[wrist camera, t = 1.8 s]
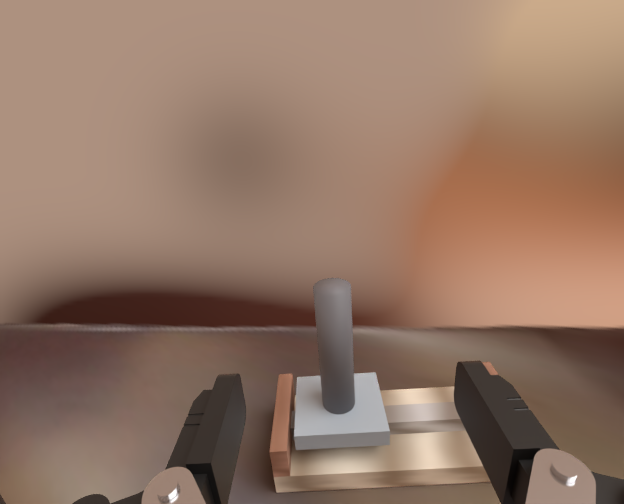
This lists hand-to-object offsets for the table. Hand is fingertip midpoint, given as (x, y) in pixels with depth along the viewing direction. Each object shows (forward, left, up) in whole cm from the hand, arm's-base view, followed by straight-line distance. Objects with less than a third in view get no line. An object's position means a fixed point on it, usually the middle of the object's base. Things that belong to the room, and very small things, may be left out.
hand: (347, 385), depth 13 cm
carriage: (0, -15, -19) cm, 24 cm away
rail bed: (-5, -15, -21) cm, 26 cm away
